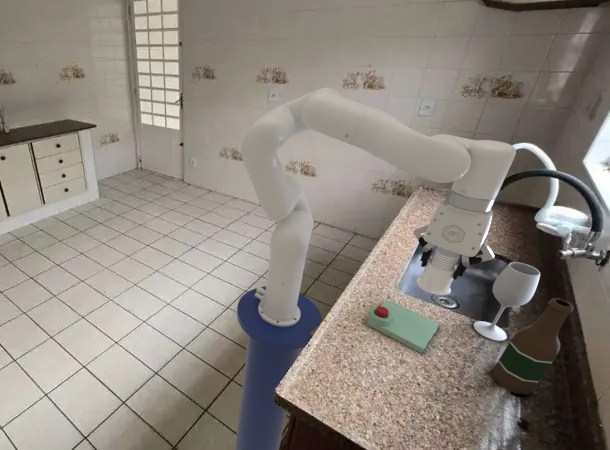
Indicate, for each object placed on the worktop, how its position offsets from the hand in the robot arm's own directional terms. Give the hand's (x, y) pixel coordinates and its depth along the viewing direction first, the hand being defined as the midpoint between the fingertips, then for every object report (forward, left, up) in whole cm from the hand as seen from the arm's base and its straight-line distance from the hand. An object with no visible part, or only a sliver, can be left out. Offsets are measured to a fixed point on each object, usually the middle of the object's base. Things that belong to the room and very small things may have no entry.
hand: (440, 270), depth 82 cm
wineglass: (+13, +21, -24) cm, 34 cm away
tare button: (-9, +1, -20) cm, 22 cm away
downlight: (0, 0, -5) cm, 5 cm away
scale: (-4, +5, -23) cm, 24 cm away
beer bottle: (+20, +5, -24) cm, 32 cm away
